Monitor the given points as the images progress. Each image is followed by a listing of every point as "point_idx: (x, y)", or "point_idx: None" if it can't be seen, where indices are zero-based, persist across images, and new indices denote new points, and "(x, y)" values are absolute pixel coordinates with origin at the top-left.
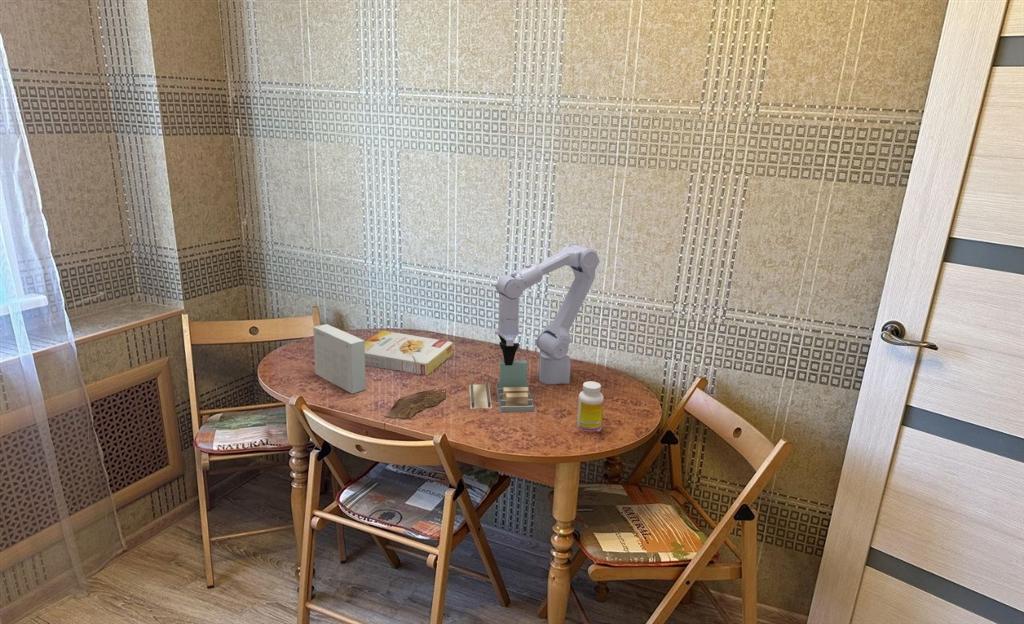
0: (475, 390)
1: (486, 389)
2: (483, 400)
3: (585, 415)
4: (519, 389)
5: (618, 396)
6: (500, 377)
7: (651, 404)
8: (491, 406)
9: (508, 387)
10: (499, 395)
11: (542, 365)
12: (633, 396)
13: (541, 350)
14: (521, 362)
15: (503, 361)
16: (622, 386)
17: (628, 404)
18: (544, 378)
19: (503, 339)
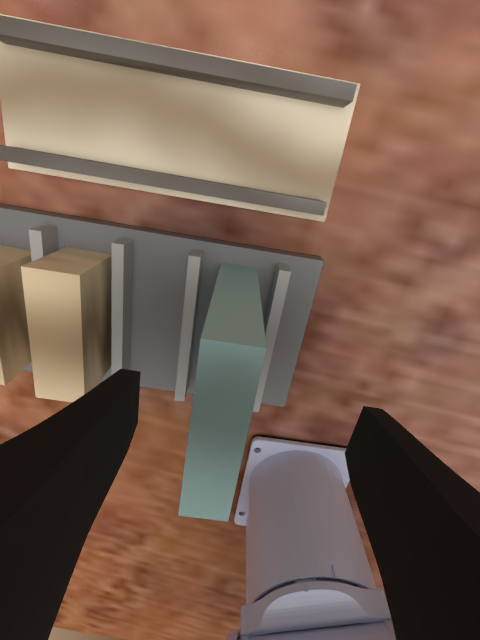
0: (258, 111)
1: (233, 185)
2: (110, 136)
3: None
4: (48, 358)
5: (147, 597)
6: (213, 291)
7: (92, 634)
8: (30, 170)
9: (76, 306)
10: (117, 241)
11: (289, 534)
12: (143, 621)
13: (366, 619)
14: (194, 487)
15: (241, 373)
16: (212, 620)
17: (93, 600)
18: (268, 480)
19: (474, 593)
